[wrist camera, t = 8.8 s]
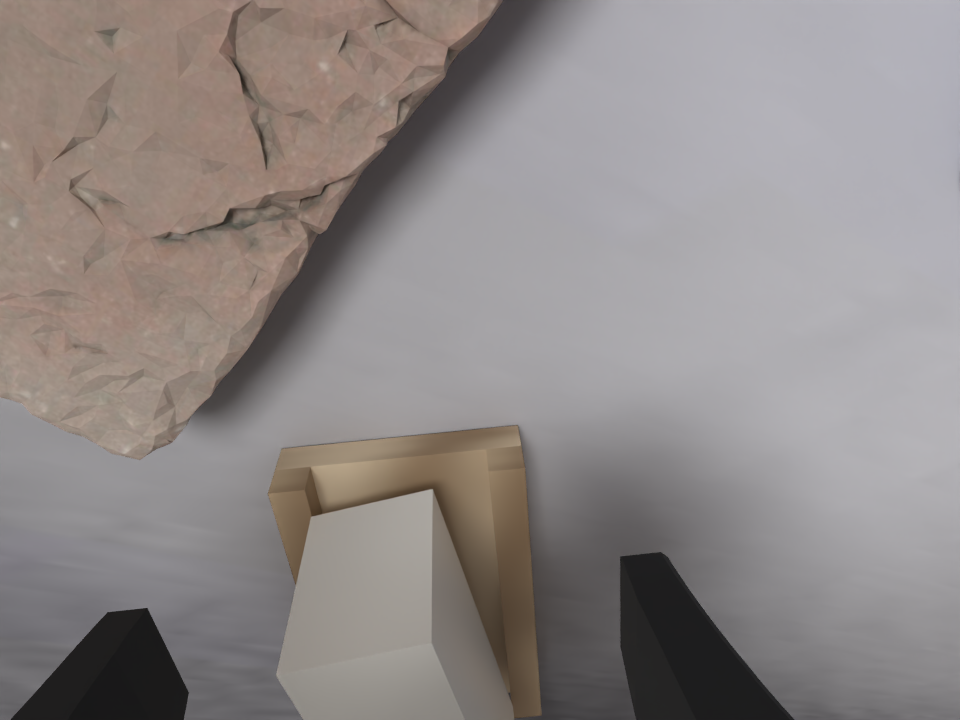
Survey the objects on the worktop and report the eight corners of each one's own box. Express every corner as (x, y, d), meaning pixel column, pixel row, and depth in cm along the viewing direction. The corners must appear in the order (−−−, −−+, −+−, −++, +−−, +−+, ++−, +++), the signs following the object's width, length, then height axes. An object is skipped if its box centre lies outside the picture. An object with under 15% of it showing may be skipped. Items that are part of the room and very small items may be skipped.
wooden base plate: (517, 425, 21) (525, 468, 19) (534, 665, 27) (541, 715, 25) (281, 448, 21) (267, 493, 19) (347, 684, 27) (341, 735, 25)
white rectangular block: (512, 705, 25) (528, 867, 20) (414, 725, 25) (409, 889, 20) (432, 488, 20) (431, 642, 15) (311, 516, 20) (276, 676, 16)
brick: (198, 391, 20) (140, 501, 16) (-117, 217, 17) (-285, 298, 13) (597, -163, 14) (662, -208, 10) (223, -569, 12) (110, -854, 7)
